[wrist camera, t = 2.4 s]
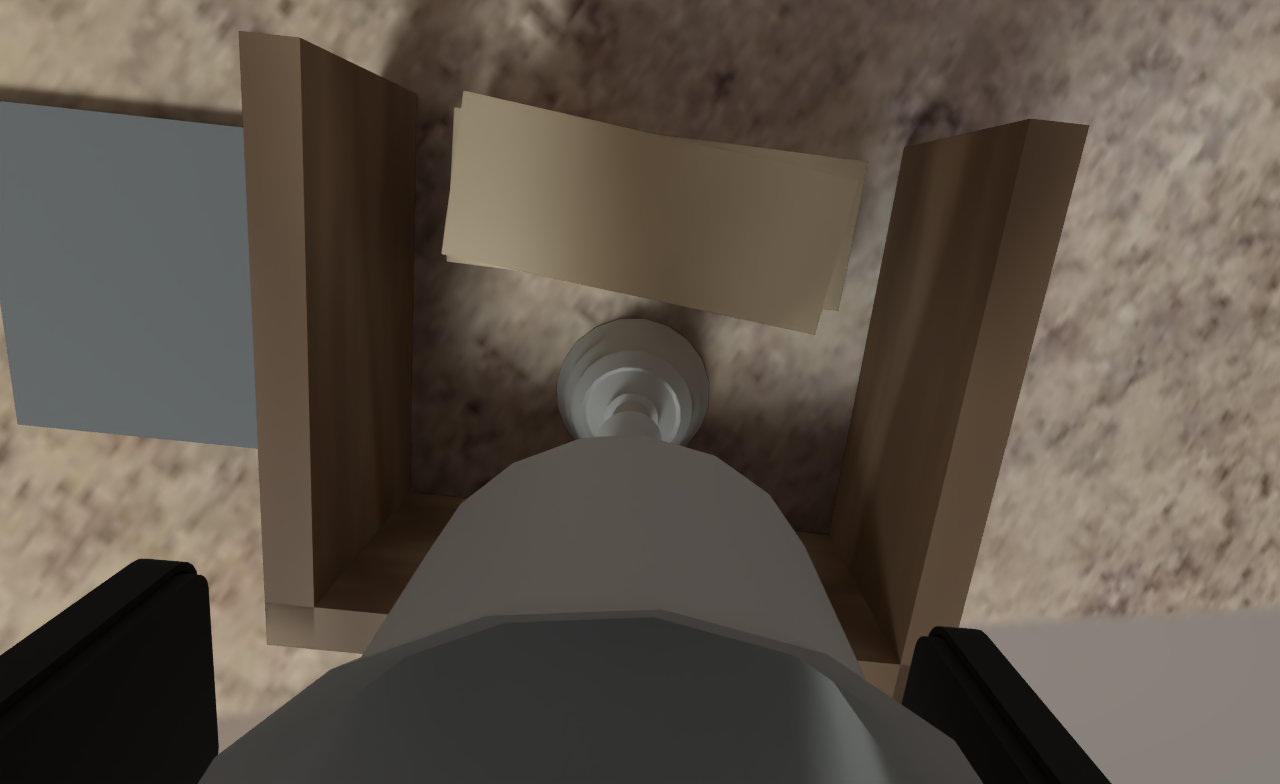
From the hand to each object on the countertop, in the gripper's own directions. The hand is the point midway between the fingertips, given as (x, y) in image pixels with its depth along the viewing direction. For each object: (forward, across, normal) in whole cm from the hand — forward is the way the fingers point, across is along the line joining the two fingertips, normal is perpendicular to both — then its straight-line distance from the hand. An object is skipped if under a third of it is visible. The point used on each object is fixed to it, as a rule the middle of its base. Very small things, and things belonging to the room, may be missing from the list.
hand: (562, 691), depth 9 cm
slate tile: (+14, +14, -2) cm, 20 cm away
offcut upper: (+11, -1, -6) cm, 13 cm away
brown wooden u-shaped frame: (+14, -1, -2) cm, 14 cm away
